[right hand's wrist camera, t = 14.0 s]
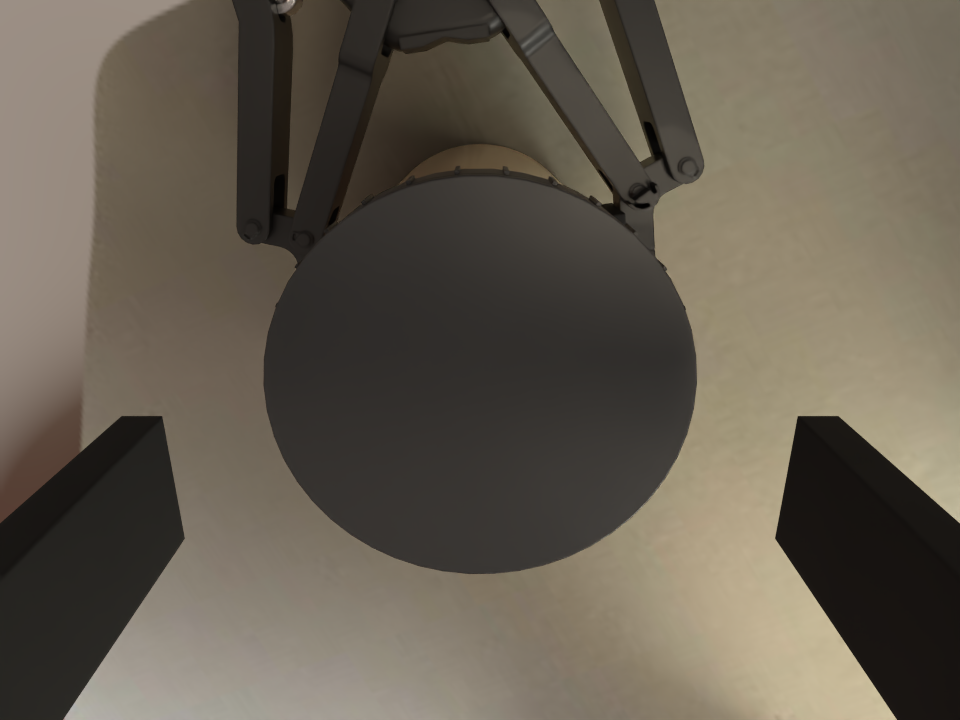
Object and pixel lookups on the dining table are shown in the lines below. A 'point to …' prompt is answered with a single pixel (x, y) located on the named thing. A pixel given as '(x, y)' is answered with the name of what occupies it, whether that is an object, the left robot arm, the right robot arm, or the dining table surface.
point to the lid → (480, 372)
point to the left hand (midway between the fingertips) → (494, 381)
